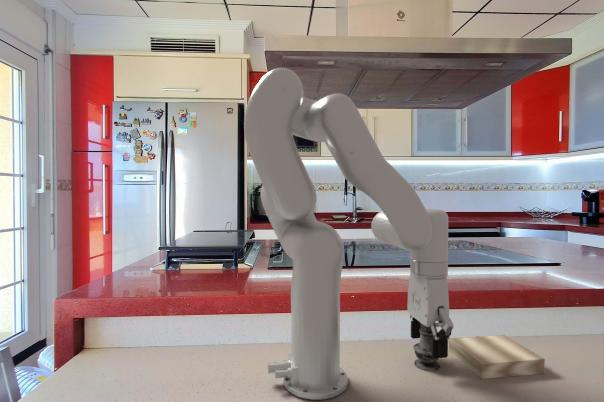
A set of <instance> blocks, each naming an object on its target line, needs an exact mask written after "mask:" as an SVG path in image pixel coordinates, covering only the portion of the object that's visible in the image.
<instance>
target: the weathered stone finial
mask: <svg viewBox="0 0 604 402" xmlns="http://www.w3.org/2000/svg"><path fill="white" fill-rule="evenodd" d="M419 332H420V338H419V342H418V343H415V344H413V346H412V349H413V351H414V354H415V356H416V358H417V359H415V360H414V363H413V364H414V366H415V367H416V368H418V369H420V370H422V371H425V372H436V371H439V370H440V369H441V365H440V363H439V362H438V360H440V358H437V359H434V358H433V357H432V338H434V336H433V333H432V329H431V326H430V327H426V326H424V325H423V324H422V323H421V329H419Z"/></svg>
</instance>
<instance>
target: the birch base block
mask: <svg viewBox="0 0 604 402" xmlns="http://www.w3.org/2000/svg"><path fill="white" fill-rule="evenodd" d="M448 353H450V354H451V356H454V357H455V358H456V359H457V360H458V361H460V362H461V363H462V364H463V365H465V366H466V367H467V368H468V369H469V370H471V371H472V372H473V373H474V374H476V376H478V377H479V378H480V379H482V380H483V379H485V380H486V379H495V378H507V377H516V376H517V377H518V376H528V375H529V376H530V375H538V374H539V375H540V374H545V366H546V365H545V363H546V362H545V358H544V357H542V356H540V355H539V354H537V353H536V352H534V351H532V350H531V349H529V348H527V347H526V346H523V345H522V344H520V343H519V342H518V341H517V342H516V341H515V340H513V339H511V337H508V336H506V335H505V334H501V335H500V334H499V335H487V336H486V335H485V336H484V335H483V336H472V337H470V336H469V337H458V338H456V337H455V338H449V339H448Z"/></svg>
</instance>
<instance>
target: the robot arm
mask: <svg viewBox="0 0 604 402" xmlns="http://www.w3.org/2000/svg"><path fill="white" fill-rule="evenodd" d="M304 91H305V90H304V86H303V83H302V81H301V78H300V77H299V76H298V74H297V73H296V72H295V71H293V70H291V69H290V68H287V67H277V68H274V69H271V70H269V71H268V72H267V73H265V74H264V75H263V76H262V77H261V78H260V80H258V83H256V85H255V86H254V88H253V90H252V91H251V95H250V96H249V98H248V101H247V104H246V109H245V114H244V120H243V121H244V122H243V125H244V126H243V129H244V132H243V133H244V139H245V143H246V147H247V150H248V152H249V156H250V157H251V160H252V163H253V165H254V167H255V170H256V173H257V175H258V177H259V179H260V182H261V184H262V185H261V188H260V201H261V204H262V207H263V209H264V211H265V214H266V216H267V218H268V221H269V222H270V225H271V227H272V229H273V231H274V233H275V235H276V237H277V240H278V242H279V243H280V246H281V247H282V249H283V251H284V253H285V254H286V255H287V257H289V258H290V259H291V260H292V264H293V265H292V275H291V282H290V283H291V284H290V313H291V314H290V323H291V325H290V327H291V328H290V329H291V331H290V333H291V334H290V341H291V342H290V348H291V349H290V350H291V351H290V354H288V355H287V356H288V358H287V359H285V360H283V362H282V361H281V362H280V361H279V362H277V361H275V362H267V374H274V378H275V379H282V380H283V381H282V383H283V386H284V388H285V389H286V390H287V391H288V392H289V393H290V394H292V395H294V396H296V397H298V398H302V399H305V400H312V401H313V400H316V401H318V400H320V401H321V400H327V399H331V398H334V397H337V396H339V395H341V394H342V393H343V392H345V391H346V389H347V387H348V384H349V377H348V374H347V372H346V371H345V370H344V369H343V368H341V366H340V365H341V350H340V349H341V277H342V271H343V265H344V259H345V248H344V242H343V239H342V238H341V235H340V234H339V233H338V232H337V230H336V229H335V228H334V227H333V226H331V225H329V224H327V223H325V222H322V221H319V220H317V218H316V216H315V213H314V210H315V207H316V205H317V196H318V195H317V190H316V188H315V185H314V184H313V183H314V182H313V181H312V180H311V177H310V174H309V172H308V171H307V168H306V166H305V163H304V162H303V160H302V157H301V155H300V152H299V149H298V147H297V144H296V141H295V139H294V136H295V137H299V138H302V139H305V140H309V141H313V142H316V143H324V144H325V145H326V147H327V148H328V150H329V152H330V154H331V156H332V157H333V159H334V161H335V163H336V164H337V166H338V168H339V170H340V172H341V174H342V176H343V177H344V179H345V180H346V181H348V183H350V184H351V185H352V186H353V187H355V188H356V189H357V190H359V191H361V192H362V193H363V194H365V195H367V196H368V197H369V198H370V199H371V200H372V201H373V202H374V203H375V204H376V205H377V206H378V207H379V208H380V210H381V211H379V212H378V213H376V215H375V216H374V217H373V219H372V221H371V224H370V226H371V232H372V234H373V236H374V237H375V238H376V239H377V240H378V241H380V242H381V243H384V244H387V245H389V246H392V247H396V248H399V249H402V250H405V251H410V265H409V266H410V268H409V269H410V273H409V279H408V286H407V287H408V288H407V304H406V305H407V306H406V307H407V308H406V309H407V312H408V313H409V319H410V338H411V339H416V340H417V339H420V332H419V329H421V323H422V324H423V325H424V326H426V327H430V326H431V329H432V333H433V336H434V338H432V357H433V358H434V359H437V358H439V359H445V358H448V356H449V339H451V338H450V336H451V335H452V330H453V328H454V323H453V321H452V319H451V317H450V300H449V299H450V298H449V287H448V279H447V277H448V276H449V216H448V213H447V212H446V211H445V210H442V209H434V208H433V209H432V208H426V207H425V206H424V204H423V202H422V200H421V198H420V197H419V195H418V193H417V192H416V190H415V189H414V187H413V186H412V185H411V184H410V183H409V182H408V181H407V180H406V178H405V177H403V175H402V174H400V173H399V171H397V170H396V168H395V167H394V166H393V165H392V164H390V163H389V162H388V161H387V160H386V158H385V157H384V155H383V154H382V152H381V149H379V147H378V145H377V143H376V141H375V139H374V138H373V136H372V134H371V132H370V130H369V128H368V126H367V125H366V123H365V121H364V119H363V117H362V114H360V111H359V109H358V108H357V106H356V104H355V103H354V101H353V100H352V98H350V97H349V96H348V95H346V94H343V93H330V94H329V95H325V96H324V97H322V98H320V99H319V100H315V99H310V98H308V97H305V96H304V94H305V93H304ZM438 328H441V329H440V330H439V331H438Z"/></svg>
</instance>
